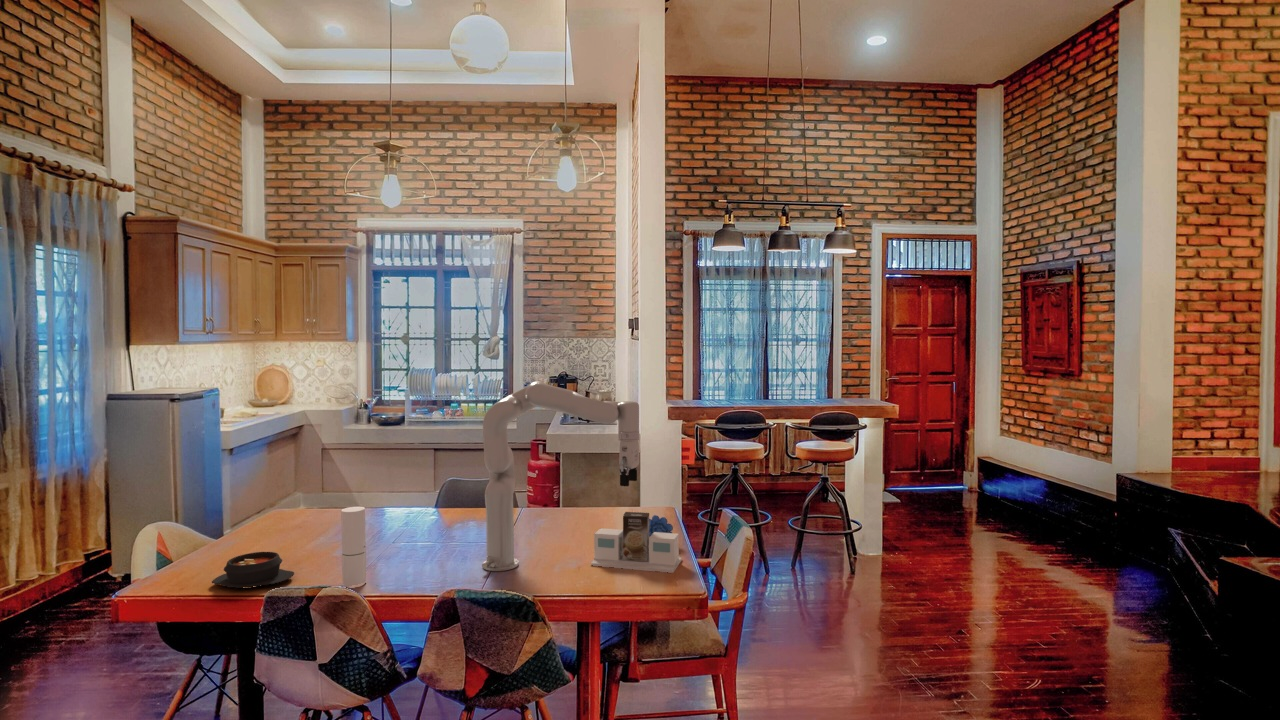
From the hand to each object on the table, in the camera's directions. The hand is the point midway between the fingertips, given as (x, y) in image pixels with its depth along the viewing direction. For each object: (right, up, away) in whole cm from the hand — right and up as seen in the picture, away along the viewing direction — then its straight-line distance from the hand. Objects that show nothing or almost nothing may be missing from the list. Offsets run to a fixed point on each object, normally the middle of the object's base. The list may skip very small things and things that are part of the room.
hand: (628, 483), depth 241 cm
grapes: (+12, -28, +18) cm, 35 cm away
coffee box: (+3, -27, -1) cm, 27 cm away
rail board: (+3, -28, -1) cm, 29 cm away
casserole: (-125, -30, -18) cm, 129 cm away
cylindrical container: (-90, -30, -21) cm, 97 cm away
